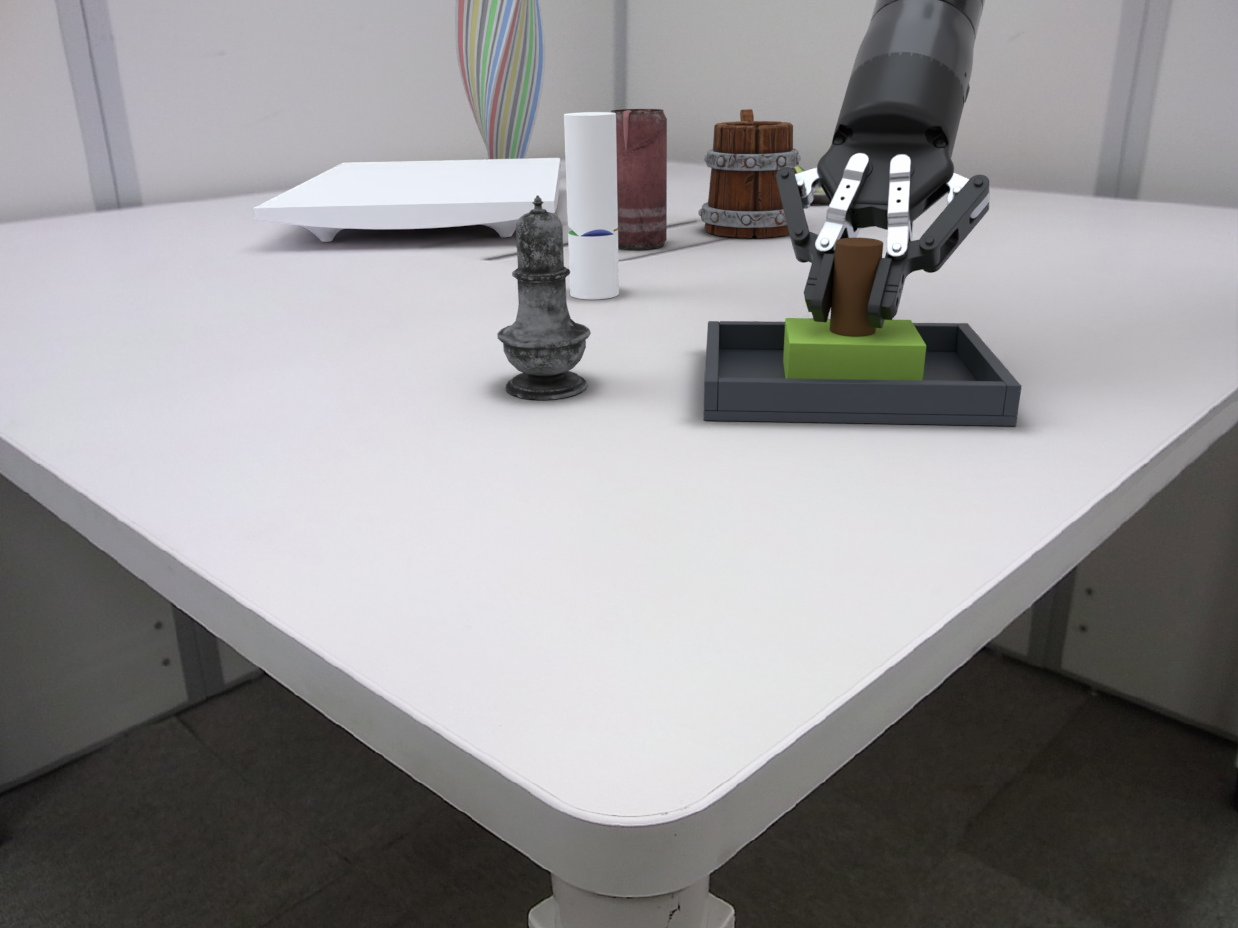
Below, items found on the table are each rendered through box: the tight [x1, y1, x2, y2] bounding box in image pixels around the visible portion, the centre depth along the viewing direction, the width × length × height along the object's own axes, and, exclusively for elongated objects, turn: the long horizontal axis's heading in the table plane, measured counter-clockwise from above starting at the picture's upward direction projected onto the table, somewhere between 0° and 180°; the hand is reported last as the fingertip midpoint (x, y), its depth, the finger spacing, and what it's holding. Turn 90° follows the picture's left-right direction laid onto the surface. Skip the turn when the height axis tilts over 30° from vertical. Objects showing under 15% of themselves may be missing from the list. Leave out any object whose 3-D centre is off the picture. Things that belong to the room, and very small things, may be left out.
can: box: [610, 108, 668, 251], centre depth 107 cm, size 6×6×14 cm
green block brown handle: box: [783, 237, 926, 380], centre depth 62 cm, size 8×6×8 cm
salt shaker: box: [497, 195, 592, 401], centre depth 63 cm, size 6×6×12 cm
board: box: [252, 157, 562, 243], centre depth 130 cm, size 45×32×5 cm
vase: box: [454, 0, 546, 159], centre depth 160 cm, size 14×14×30 cm
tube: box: [563, 111, 620, 300], centre depth 86 cm, size 4×4×15 cm
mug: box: [697, 108, 802, 239], centre depth 116 cm, size 12×14×15 cm
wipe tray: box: [703, 320, 1022, 427], centre depth 64 cm, size 18×14×2 cm
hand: (846, 317), depth 60 cm, fingers closed on green block brown handle, 3 cm apart
